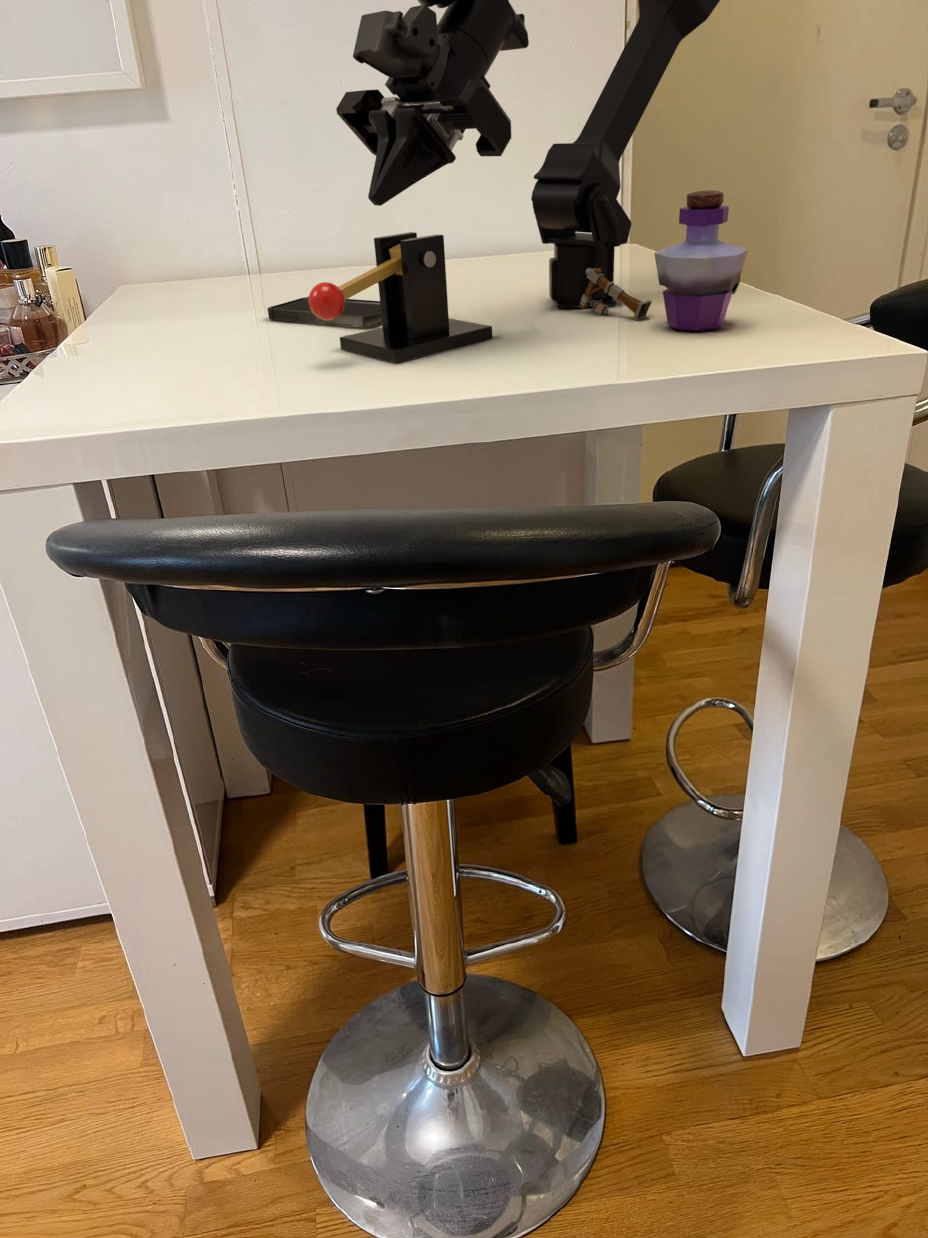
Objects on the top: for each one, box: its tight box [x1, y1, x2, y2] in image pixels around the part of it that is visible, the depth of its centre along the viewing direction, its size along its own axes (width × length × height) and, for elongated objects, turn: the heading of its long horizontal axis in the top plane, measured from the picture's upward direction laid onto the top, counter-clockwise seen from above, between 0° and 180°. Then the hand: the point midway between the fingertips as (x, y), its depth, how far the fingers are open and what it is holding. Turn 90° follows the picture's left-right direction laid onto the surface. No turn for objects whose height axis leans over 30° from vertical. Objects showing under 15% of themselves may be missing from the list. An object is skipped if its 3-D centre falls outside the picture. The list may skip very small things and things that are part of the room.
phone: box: [266, 296, 382, 328], centre depth 100 cm, size 8×1×15 cm
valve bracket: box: [339, 231, 494, 364], centre depth 85 cm, size 12×9×10 cm
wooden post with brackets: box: [578, 268, 653, 321], centre depth 93 cm, size 2×8×4 cm, turn 48°
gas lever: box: [308, 238, 412, 320], centre depth 81 cm, size 13×3×3 cm, turn 131°
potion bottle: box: [654, 189, 749, 334], centre depth 84 cm, size 9×9×12 cm
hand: (373, 201), depth 78 cm, fingers closed
